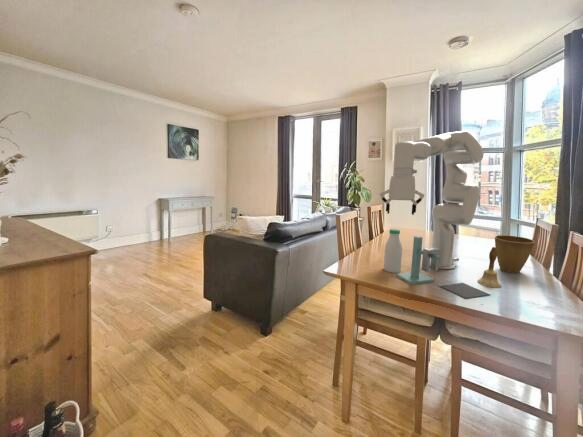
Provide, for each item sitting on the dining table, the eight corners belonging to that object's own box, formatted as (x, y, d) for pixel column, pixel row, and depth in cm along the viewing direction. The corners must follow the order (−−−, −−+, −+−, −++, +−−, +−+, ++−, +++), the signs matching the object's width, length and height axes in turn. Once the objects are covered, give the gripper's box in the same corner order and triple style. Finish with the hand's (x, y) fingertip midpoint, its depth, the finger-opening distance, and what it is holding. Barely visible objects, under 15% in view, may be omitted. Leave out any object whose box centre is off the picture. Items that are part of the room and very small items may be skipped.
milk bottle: (401, 273, 128) (405, 231, 125) (384, 272, 129) (387, 230, 126) (398, 268, 135) (401, 228, 132) (382, 267, 137) (385, 227, 134)
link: (433, 268, 115) (435, 247, 114) (438, 270, 113) (440, 249, 111) (421, 269, 113) (423, 248, 112) (426, 271, 111) (428, 250, 110)
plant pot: (483, 265, 141) (487, 235, 138) (512, 265, 141) (516, 235, 139) (506, 276, 126) (511, 242, 124) (538, 276, 126) (543, 242, 124)
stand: (417, 273, 128) (421, 233, 125) (447, 287, 112) (452, 242, 109) (395, 276, 125) (398, 235, 122) (423, 291, 109) (427, 244, 106)
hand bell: (481, 278, 123) (485, 244, 120) (503, 284, 116) (508, 248, 114) (474, 283, 118) (478, 246, 115) (497, 289, 111) (502, 251, 109)
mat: (462, 283, 117) (462, 282, 117) (489, 295, 105) (490, 294, 105) (439, 286, 113) (440, 285, 113) (465, 298, 102) (465, 297, 102)
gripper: (425, 172, 114) (422, 213, 116) (381, 172, 120) (379, 211, 123) (427, 172, 107) (423, 216, 109) (380, 172, 113) (378, 213, 116)
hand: (400, 213), depth 116 cm, fingers open, 9 cm apart
